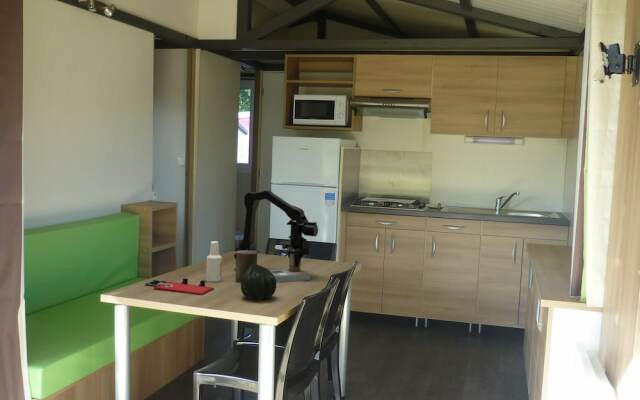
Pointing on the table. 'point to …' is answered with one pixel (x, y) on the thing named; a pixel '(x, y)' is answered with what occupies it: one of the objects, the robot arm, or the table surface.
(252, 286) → the squash
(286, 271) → the socket block
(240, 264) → the pillar candle
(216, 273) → the spray bottle
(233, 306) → the table surface
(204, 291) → the red board with handle
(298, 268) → the peg
